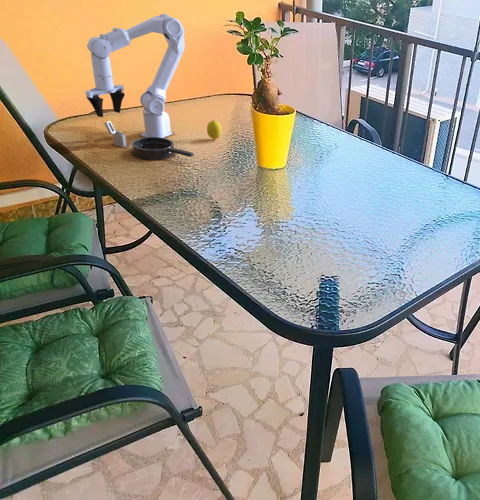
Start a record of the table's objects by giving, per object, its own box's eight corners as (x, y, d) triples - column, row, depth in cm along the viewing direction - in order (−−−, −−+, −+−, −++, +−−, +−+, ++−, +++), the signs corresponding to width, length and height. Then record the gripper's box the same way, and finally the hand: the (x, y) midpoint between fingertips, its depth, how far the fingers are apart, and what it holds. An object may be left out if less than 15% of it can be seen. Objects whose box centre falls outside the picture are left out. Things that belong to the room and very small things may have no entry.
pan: (150, 143, 174) (149, 134, 172) (181, 151, 171) (181, 142, 169) (124, 154, 163) (123, 144, 161) (157, 163, 160) (156, 153, 158)
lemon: (223, 138, 188) (223, 119, 184) (218, 143, 183) (218, 123, 179) (210, 136, 188) (209, 117, 184) (205, 140, 183) (204, 120, 179)
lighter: (126, 146, 169) (124, 124, 165) (123, 147, 168) (120, 125, 164) (110, 141, 171) (107, 120, 167) (107, 143, 169) (103, 121, 165)
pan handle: (171, 149, 165) (171, 147, 164) (193, 155, 163) (193, 152, 163) (168, 151, 163) (168, 148, 163) (190, 157, 162) (190, 154, 161)
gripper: (94, 80, 154) (100, 121, 161) (128, 74, 166) (132, 112, 173) (78, 76, 156) (85, 116, 163) (113, 70, 168) (118, 108, 175)
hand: (108, 114), depth 168 cm, fingers open, 7 cm apart
